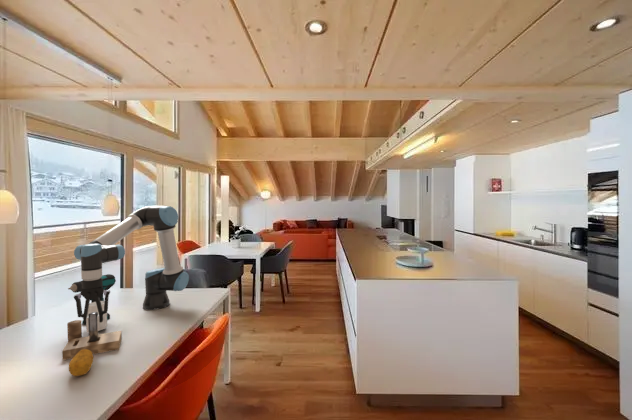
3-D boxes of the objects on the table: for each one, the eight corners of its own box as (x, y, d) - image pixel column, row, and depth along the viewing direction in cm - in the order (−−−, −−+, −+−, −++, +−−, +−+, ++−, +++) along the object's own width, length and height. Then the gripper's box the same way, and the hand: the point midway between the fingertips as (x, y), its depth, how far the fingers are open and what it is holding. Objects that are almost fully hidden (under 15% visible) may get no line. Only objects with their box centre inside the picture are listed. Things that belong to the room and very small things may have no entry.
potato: (64, 384, 111) (63, 365, 111) (75, 365, 124) (74, 348, 124) (88, 379, 114) (87, 360, 114) (96, 361, 127) (96, 344, 127)
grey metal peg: (99, 337, 140) (98, 311, 140) (97, 340, 137) (97, 314, 137) (90, 339, 139) (89, 312, 139) (88, 342, 136) (87, 315, 136)
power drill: (77, 332, 156) (75, 283, 155) (62, 331, 157) (61, 283, 157) (119, 314, 181) (118, 272, 180) (106, 313, 183) (105, 271, 182)
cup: (111, 328, 160) (110, 301, 160) (95, 335, 152) (94, 307, 152) (99, 326, 163) (98, 300, 163) (83, 333, 155) (82, 305, 155)
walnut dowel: (83, 339, 147) (82, 319, 147) (80, 344, 143) (80, 323, 143) (69, 342, 145) (68, 321, 145) (66, 346, 140) (65, 325, 140)
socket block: (121, 338, 148) (121, 330, 148) (119, 349, 138) (118, 340, 138) (69, 348, 139) (69, 339, 139) (62, 360, 128) (62, 350, 128)
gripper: (114, 274, 145) (116, 323, 145) (71, 279, 137) (72, 331, 138) (112, 278, 138) (114, 329, 139) (66, 283, 130) (68, 337, 131)
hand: (93, 330), depth 138 cm, fingers closed on grey metal peg, 3 cm apart
